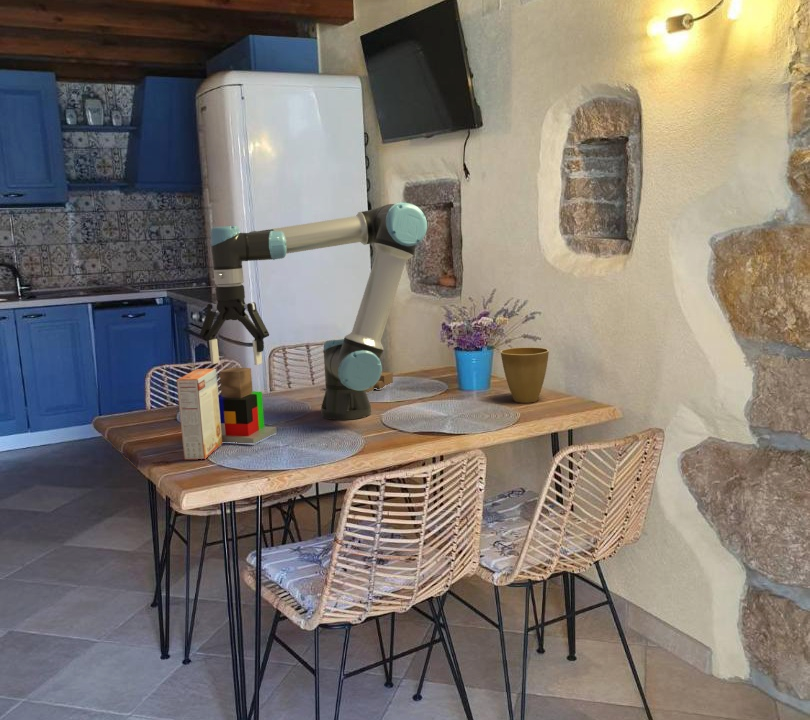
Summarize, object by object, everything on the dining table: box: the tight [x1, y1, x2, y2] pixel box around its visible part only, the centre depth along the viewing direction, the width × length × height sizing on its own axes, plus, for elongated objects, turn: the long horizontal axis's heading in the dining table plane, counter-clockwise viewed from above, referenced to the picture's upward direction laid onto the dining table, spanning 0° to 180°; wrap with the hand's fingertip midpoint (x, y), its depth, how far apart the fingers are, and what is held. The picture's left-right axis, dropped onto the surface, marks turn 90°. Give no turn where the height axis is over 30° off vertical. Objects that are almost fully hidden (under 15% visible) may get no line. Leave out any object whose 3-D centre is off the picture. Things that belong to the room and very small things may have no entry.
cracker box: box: [176, 368, 223, 461], centre depth 208 cm, size 14×6×21 cm, turn 174°
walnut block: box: [219, 367, 253, 398], centre depth 220 cm, size 6×6×7 cm
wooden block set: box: [365, 371, 394, 392], centre depth 284 cm, size 17×6×18 cm
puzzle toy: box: [218, 390, 265, 436], centre depth 222 cm, size 10×10×10 cm
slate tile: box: [222, 425, 278, 443], centre depth 223 cm, size 16×12×2 cm
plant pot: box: [500, 346, 550, 404], centre depth 255 cm, size 15×15×16 cm
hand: (236, 363), depth 220 cm, fingers open, 13 cm apart
